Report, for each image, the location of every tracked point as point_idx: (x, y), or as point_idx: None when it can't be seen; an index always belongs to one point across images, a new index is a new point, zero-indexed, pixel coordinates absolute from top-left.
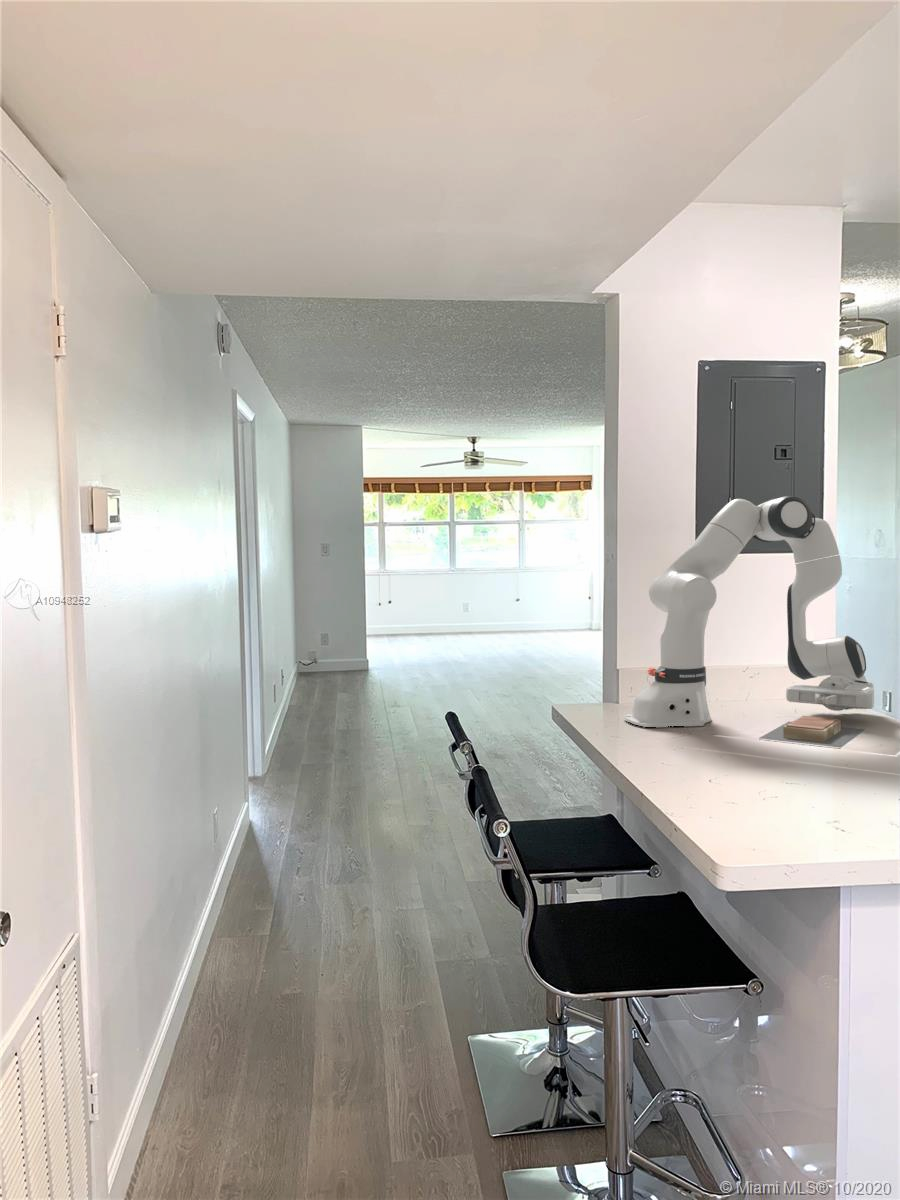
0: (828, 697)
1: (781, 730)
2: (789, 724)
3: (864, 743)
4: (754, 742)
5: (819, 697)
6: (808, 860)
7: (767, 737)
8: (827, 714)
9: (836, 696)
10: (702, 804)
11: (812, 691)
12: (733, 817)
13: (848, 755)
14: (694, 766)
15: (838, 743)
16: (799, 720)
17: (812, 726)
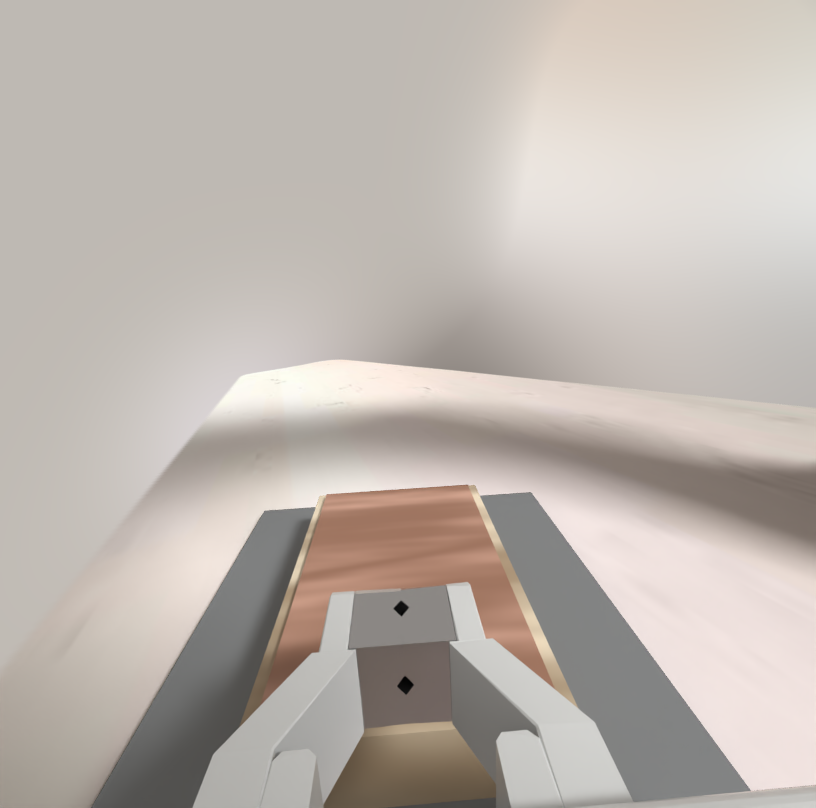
0: (327, 615)
1: (571, 605)
2: (466, 496)
3: (150, 626)
4: (524, 486)
5: (424, 587)
6: (293, 366)
7: (515, 504)
8: None
9: (210, 784)
10: (395, 373)
11: (733, 800)
12: (359, 371)
13: (247, 494)
14: (482, 398)
15: (271, 538)
16: (477, 560)
17: (371, 504)
